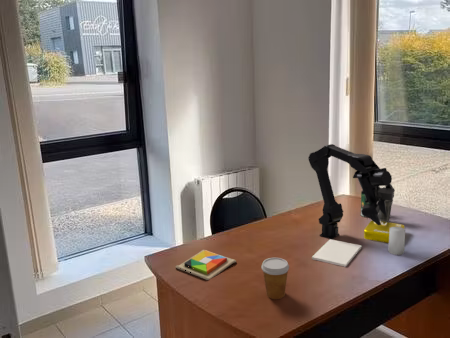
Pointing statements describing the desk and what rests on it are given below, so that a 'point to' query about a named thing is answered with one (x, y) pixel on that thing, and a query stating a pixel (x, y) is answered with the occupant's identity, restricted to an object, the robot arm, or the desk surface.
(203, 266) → the wooden puzzle
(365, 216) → the coffee box
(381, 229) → the element tile
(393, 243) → the grey cylinder
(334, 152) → the robot arm
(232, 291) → the desk surface
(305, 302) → the desk surface
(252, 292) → the desk surface
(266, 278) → the disposable coffee cup
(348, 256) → the notebook
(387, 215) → the beverage cup
